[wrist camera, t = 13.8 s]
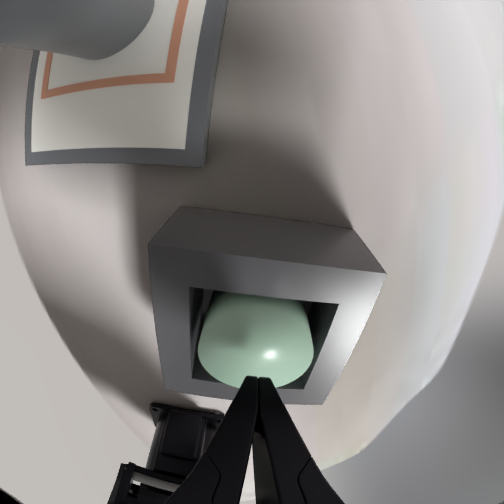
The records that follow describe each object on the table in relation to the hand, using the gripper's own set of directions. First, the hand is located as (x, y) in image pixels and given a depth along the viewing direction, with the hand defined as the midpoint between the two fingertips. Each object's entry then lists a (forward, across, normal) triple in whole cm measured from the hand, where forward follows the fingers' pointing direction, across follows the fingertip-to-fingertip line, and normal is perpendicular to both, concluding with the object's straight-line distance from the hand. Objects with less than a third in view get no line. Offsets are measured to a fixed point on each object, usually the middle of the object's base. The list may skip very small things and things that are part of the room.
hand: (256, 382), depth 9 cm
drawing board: (+6, +8, -13) cm, 16 cm away
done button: (+4, 0, 0) cm, 4 cm away
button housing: (+6, 0, 0) cm, 6 cm away
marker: (+5, +8, -13) cm, 16 cm away
